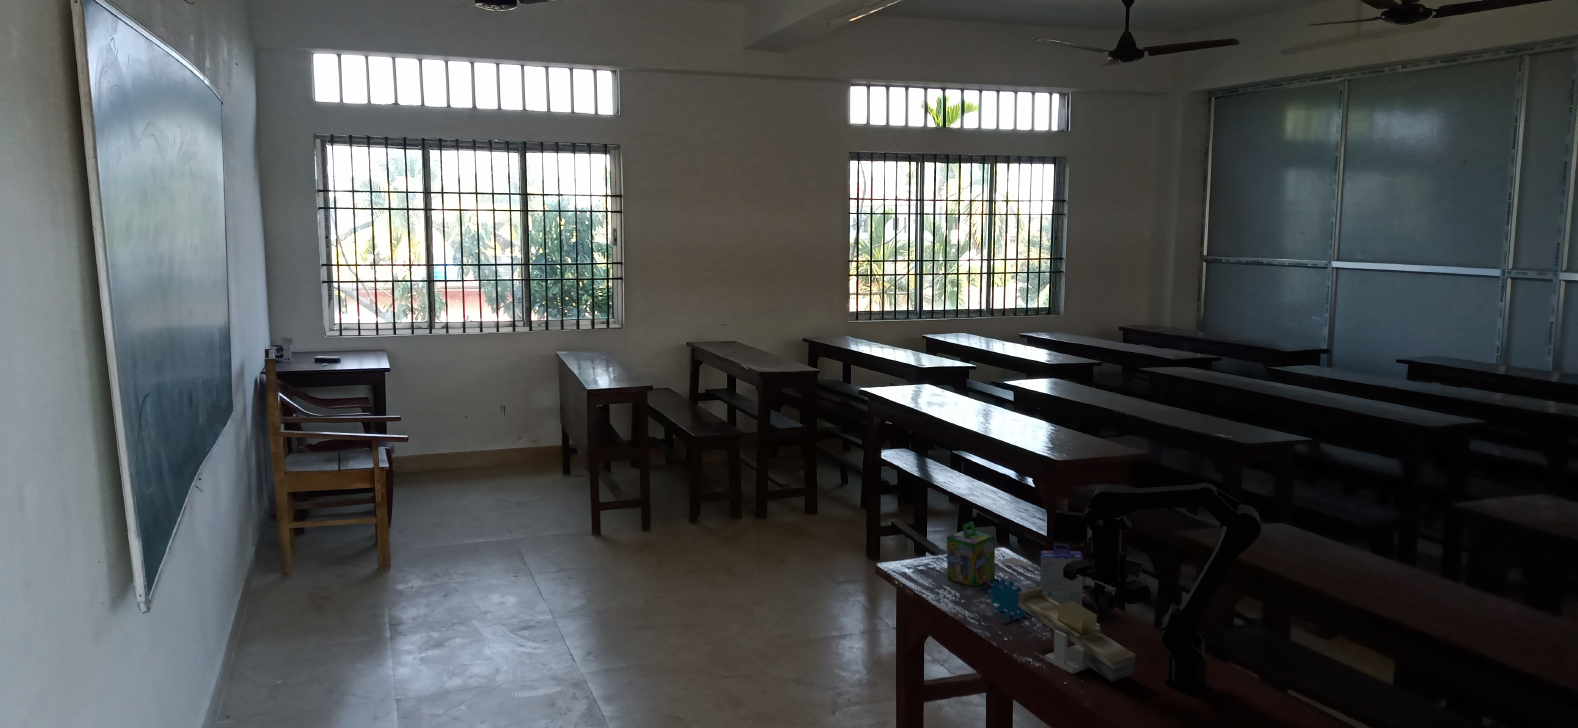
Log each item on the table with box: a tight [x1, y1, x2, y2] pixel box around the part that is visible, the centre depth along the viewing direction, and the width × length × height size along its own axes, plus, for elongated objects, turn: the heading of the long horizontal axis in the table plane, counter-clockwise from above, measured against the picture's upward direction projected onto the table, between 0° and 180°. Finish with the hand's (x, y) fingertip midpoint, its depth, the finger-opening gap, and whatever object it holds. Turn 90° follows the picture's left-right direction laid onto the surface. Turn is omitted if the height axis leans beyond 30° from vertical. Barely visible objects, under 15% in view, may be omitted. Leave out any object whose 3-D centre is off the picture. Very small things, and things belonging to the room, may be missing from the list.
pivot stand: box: [1044, 622, 1101, 675], centre depth 216 cm, size 8×10×7 cm
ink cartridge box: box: [1040, 543, 1084, 607], centre depth 247 cm, size 10×6×14 cm, turn 78°
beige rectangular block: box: [1057, 601, 1098, 637], centre depth 216 cm, size 7×4×4 cm, turn 30°
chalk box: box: [946, 520, 996, 588], centre depth 264 cm, size 9×9×15 cm
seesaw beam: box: [1018, 585, 1137, 683], centre depth 217 cm, size 28×8×6 cm, turn 30°
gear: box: [989, 579, 1027, 621], centre depth 243 cm, size 11×6×10 cm
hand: (1105, 621), depth 209 cm, fingers closed
